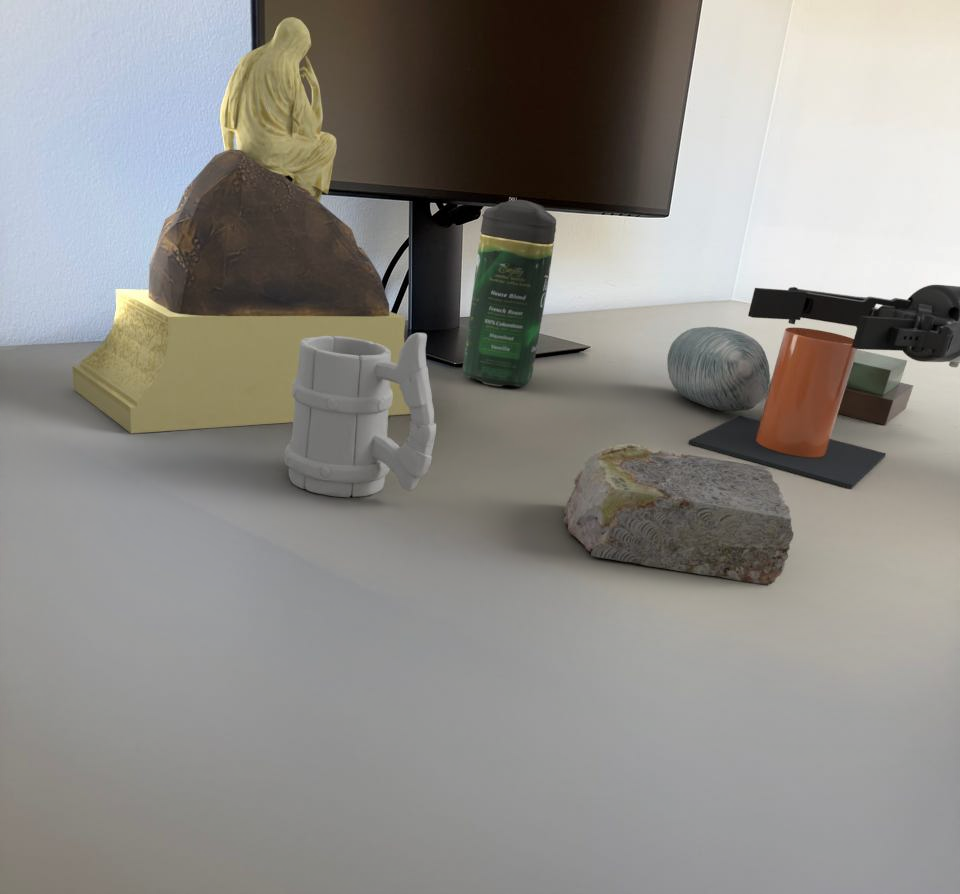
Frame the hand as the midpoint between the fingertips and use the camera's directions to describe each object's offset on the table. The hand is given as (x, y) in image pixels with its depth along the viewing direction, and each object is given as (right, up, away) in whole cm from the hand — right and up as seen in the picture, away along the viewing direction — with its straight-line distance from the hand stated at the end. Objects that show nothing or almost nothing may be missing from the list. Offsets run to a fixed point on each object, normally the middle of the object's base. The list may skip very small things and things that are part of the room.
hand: (803, 316), depth 91 cm
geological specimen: (-17, -24, -21) cm, 36 cm away
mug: (-39, -19, -19) cm, 48 cm away
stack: (+16, 0, +33) cm, 36 cm away
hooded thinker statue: (-51, -9, -3) cm, 51 cm away
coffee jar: (-28, -1, +19) cm, 34 cm away
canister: (+1, -11, +7) cm, 13 cm away
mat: (+1, -11, +8) cm, 13 cm away
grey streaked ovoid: (0, -1, +21) cm, 21 cm away
